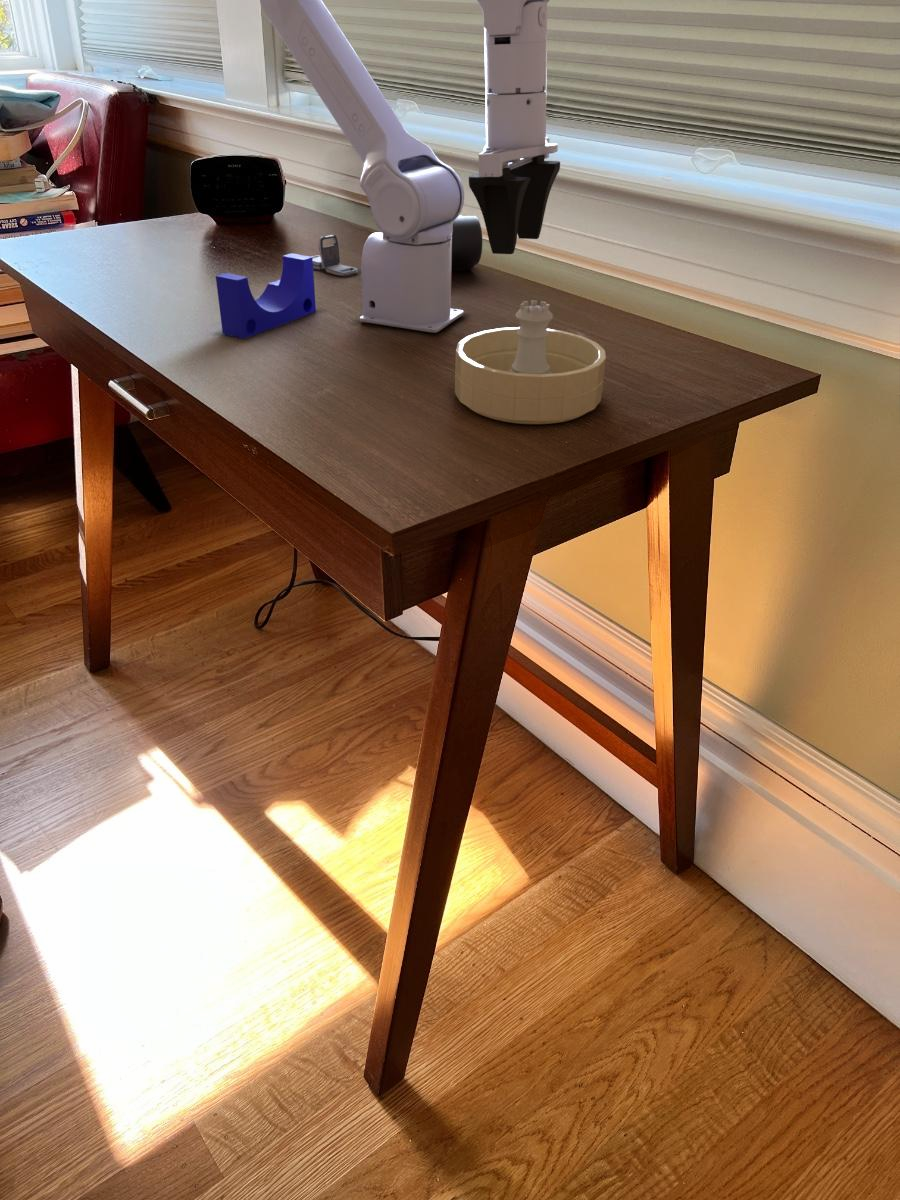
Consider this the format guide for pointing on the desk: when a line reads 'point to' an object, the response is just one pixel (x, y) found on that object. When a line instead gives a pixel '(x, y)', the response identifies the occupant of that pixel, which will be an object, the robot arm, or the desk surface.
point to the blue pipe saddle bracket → (267, 299)
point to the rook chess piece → (532, 338)
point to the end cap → (466, 243)
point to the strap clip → (331, 259)
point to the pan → (529, 377)
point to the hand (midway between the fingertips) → (516, 245)
